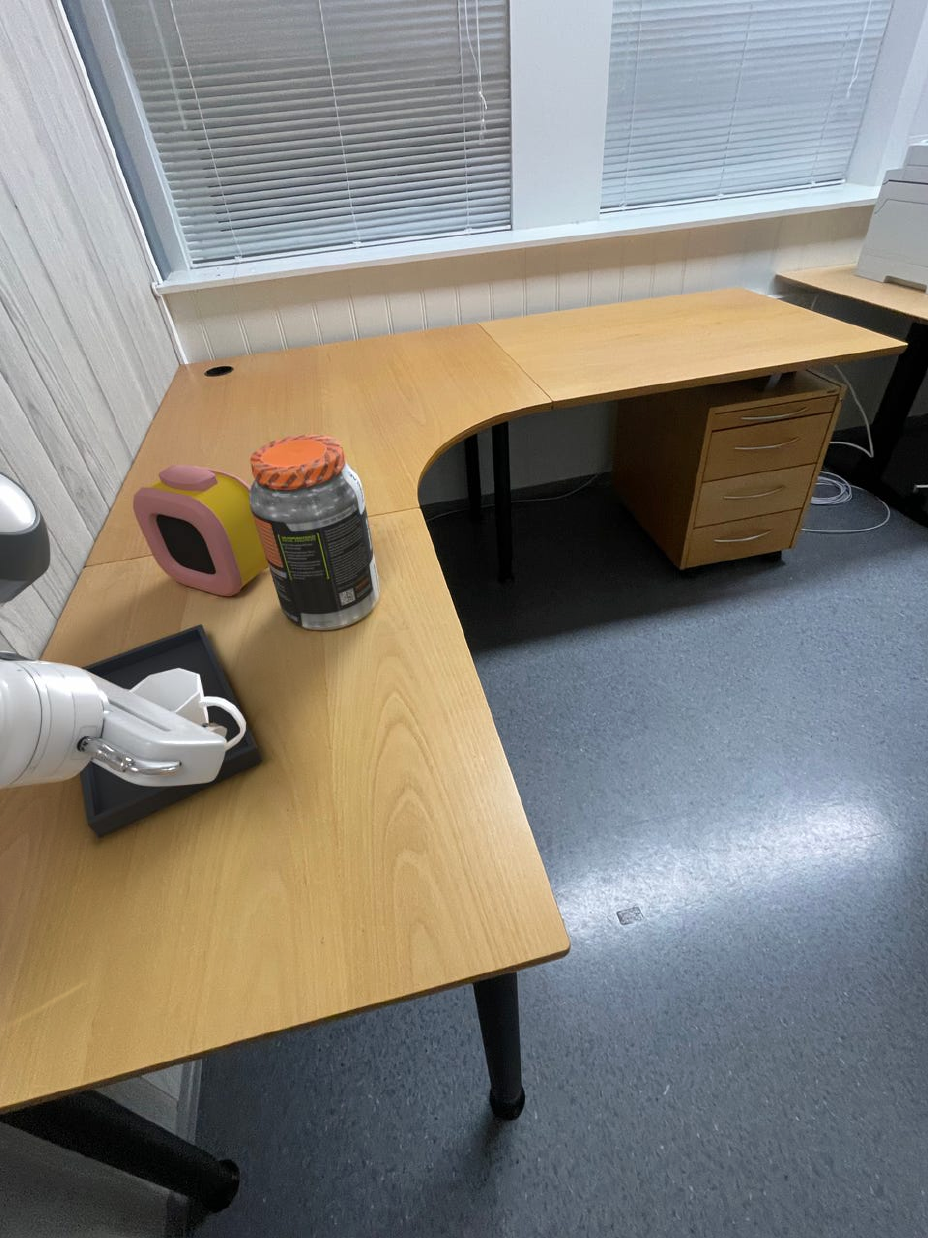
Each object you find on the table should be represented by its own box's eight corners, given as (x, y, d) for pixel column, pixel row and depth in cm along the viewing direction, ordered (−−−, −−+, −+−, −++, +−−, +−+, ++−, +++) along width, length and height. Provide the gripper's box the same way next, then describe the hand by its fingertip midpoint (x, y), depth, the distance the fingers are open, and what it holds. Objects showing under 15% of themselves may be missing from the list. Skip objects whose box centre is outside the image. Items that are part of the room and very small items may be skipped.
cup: (171, 727, 63) (143, 668, 58) (265, 725, 62) (244, 665, 57) (140, 781, 57) (105, 720, 52) (242, 780, 56) (216, 718, 52)
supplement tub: (393, 579, 101) (372, 431, 85) (361, 641, 90) (329, 483, 73) (307, 570, 104) (270, 425, 88) (264, 629, 93) (213, 474, 76)
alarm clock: (160, 581, 104) (113, 478, 91) (206, 548, 111) (168, 449, 99) (243, 607, 97) (206, 500, 85) (286, 570, 105) (257, 467, 92)
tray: (263, 761, 73) (256, 747, 72) (98, 838, 66) (87, 825, 64) (207, 637, 92) (201, 623, 90) (74, 687, 85) (64, 673, 83)
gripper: (149, 731, 41) (280, 724, 53) (-24, 642, 48) (126, 655, 61) (120, 820, 41) (258, 792, 53) (-49, 717, 48) (107, 714, 61)
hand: (186, 718), depth 57 cm, fingers closed on cup, 7 cm apart
